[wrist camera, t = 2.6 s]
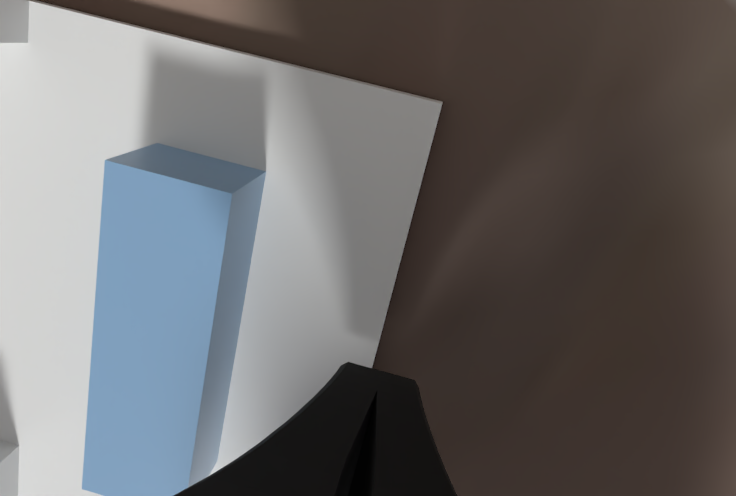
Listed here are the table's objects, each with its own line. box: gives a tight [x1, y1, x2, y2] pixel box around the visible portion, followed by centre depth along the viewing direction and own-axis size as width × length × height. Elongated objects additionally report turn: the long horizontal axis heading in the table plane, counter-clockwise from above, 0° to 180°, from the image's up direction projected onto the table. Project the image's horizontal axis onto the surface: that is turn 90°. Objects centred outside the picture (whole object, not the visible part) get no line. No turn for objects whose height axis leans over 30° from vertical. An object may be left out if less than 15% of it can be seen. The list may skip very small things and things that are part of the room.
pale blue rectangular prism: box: [82, 143, 266, 496], centre depth 12 cm, size 2×7×2 cm, turn 167°
